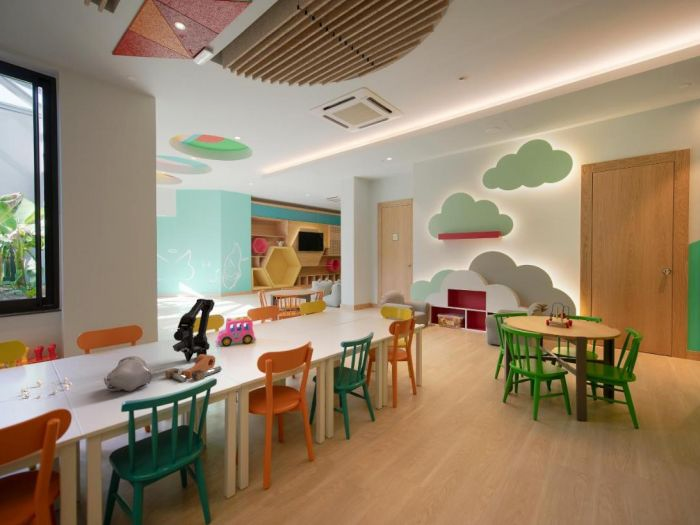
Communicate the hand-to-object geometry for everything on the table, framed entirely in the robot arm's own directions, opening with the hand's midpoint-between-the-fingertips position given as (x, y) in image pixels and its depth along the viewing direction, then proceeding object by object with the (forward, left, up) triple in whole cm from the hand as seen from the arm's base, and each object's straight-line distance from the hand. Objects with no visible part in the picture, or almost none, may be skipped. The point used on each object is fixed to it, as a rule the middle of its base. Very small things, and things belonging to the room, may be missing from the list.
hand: (188, 361), depth 196 cm
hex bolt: (+11, -13, -4) cm, 18 cm away
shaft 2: (+20, -1, -4) cm, 21 cm away
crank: (+10, 0, -4) cm, 11 cm away
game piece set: (-29, -57, -4) cm, 64 cm away
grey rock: (+3, -34, -4) cm, 34 cm away
